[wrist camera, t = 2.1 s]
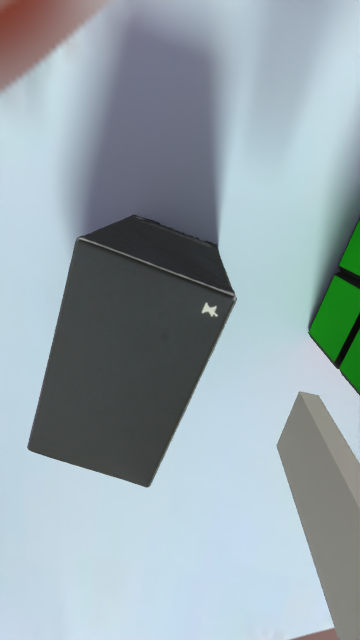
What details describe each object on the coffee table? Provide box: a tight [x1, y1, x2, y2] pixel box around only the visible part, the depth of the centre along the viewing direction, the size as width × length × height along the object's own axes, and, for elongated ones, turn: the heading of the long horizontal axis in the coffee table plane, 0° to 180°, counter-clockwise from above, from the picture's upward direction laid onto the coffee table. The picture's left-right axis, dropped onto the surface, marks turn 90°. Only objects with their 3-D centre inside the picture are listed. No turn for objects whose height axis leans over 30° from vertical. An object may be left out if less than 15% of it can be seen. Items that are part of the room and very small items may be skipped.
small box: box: [27, 215, 237, 487], centre depth 18 cm, size 11×6×10 cm, turn 160°
